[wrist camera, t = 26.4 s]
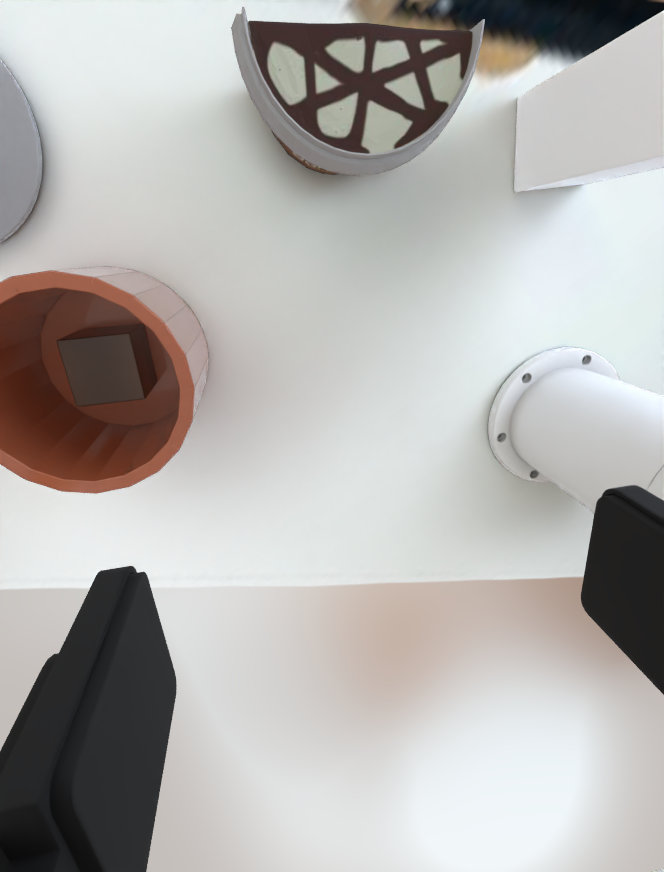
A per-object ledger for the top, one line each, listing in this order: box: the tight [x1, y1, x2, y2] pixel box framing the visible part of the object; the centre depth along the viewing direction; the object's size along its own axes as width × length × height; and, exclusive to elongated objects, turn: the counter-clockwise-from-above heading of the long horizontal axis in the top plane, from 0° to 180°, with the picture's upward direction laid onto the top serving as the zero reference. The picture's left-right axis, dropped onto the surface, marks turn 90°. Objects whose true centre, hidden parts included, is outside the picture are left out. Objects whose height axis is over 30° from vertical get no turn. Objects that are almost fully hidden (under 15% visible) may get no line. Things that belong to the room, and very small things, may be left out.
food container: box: [231, 7, 485, 176], centre depth 26 cm, size 12×6×10 cm, turn 91°
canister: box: [0, 266, 209, 493], centre depth 29 cm, size 12×12×10 cm
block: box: [56, 324, 157, 407], centre depth 31 cm, size 4×4×4 cm
